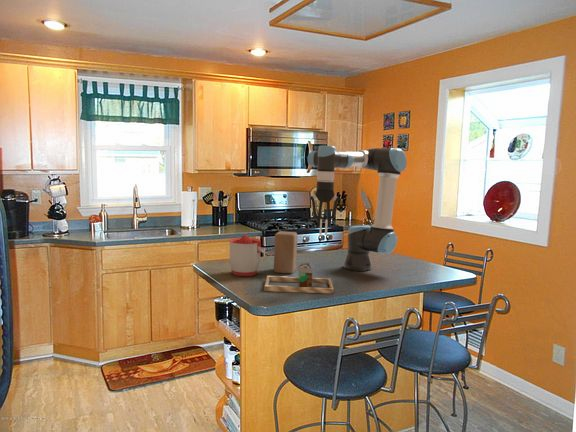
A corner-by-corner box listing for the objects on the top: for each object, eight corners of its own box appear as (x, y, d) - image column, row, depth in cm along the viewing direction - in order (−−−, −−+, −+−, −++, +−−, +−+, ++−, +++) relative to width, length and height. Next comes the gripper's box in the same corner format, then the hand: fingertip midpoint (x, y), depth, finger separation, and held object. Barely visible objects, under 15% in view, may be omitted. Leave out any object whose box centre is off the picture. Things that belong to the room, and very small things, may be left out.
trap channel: (330, 282, 212) (330, 277, 211) (333, 293, 194) (333, 288, 194) (267, 280, 212) (267, 275, 212) (264, 290, 195) (264, 285, 194)
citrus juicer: (259, 279, 213) (260, 238, 211) (224, 276, 216) (225, 235, 214) (266, 271, 229) (267, 233, 226) (233, 269, 232) (234, 231, 229)
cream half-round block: (295, 283, 209) (295, 262, 208) (308, 283, 209) (309, 262, 208) (297, 290, 197) (298, 268, 196) (311, 290, 197) (312, 268, 196)
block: (292, 274, 225) (294, 234, 223) (273, 272, 227) (274, 233, 225) (296, 269, 235) (297, 232, 233) (277, 268, 237) (278, 230, 234)
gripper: (341, 181, 201) (339, 233, 204) (308, 180, 201) (306, 232, 204) (343, 182, 193) (340, 236, 196) (308, 181, 194) (306, 234, 196)
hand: (323, 234), depth 200 cm, fingers closed
